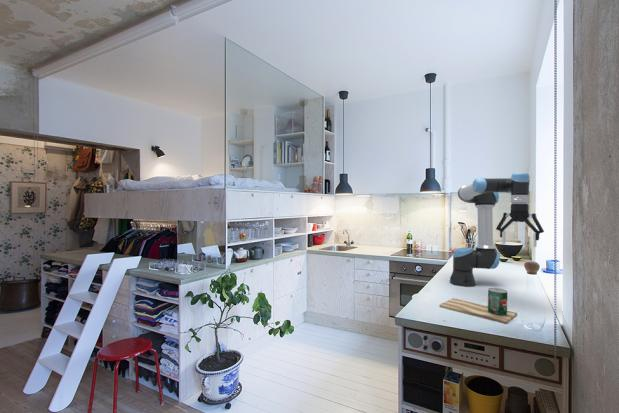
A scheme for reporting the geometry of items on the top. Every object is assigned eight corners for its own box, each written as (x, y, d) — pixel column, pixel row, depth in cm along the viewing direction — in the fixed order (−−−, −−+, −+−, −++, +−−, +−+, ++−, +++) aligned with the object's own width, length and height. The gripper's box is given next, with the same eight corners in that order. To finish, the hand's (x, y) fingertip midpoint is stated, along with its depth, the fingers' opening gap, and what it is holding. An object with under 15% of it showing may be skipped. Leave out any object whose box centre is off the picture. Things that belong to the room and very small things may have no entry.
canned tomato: (508, 317, 144) (509, 293, 144) (489, 314, 147) (489, 291, 147) (505, 311, 151) (505, 288, 151) (486, 309, 154) (486, 287, 154)
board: (452, 300, 172) (452, 298, 172) (516, 315, 150) (517, 312, 150) (439, 306, 161) (439, 304, 161) (506, 323, 139) (506, 321, 139)
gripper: (489, 203, 167) (489, 243, 167) (548, 203, 149) (547, 248, 149) (494, 203, 172) (494, 242, 172) (551, 203, 154) (550, 247, 154)
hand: (518, 245), depth 161 cm, fingers open, 13 cm apart
